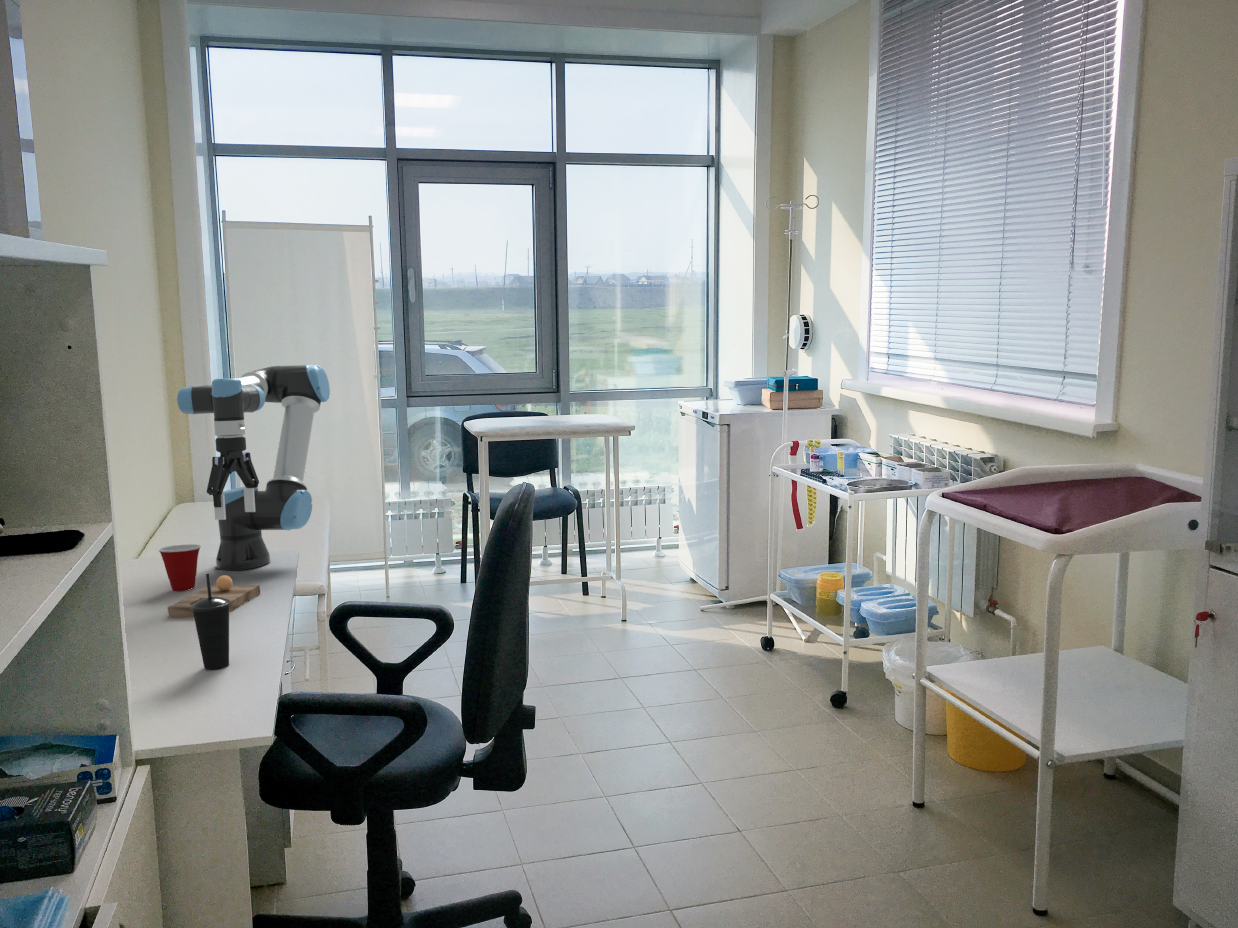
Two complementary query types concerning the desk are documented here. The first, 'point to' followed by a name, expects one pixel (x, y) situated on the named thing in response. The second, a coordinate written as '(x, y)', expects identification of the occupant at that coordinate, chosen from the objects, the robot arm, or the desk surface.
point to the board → (234, 594)
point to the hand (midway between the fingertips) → (235, 515)
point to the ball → (224, 583)
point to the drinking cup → (212, 629)
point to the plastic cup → (181, 565)
